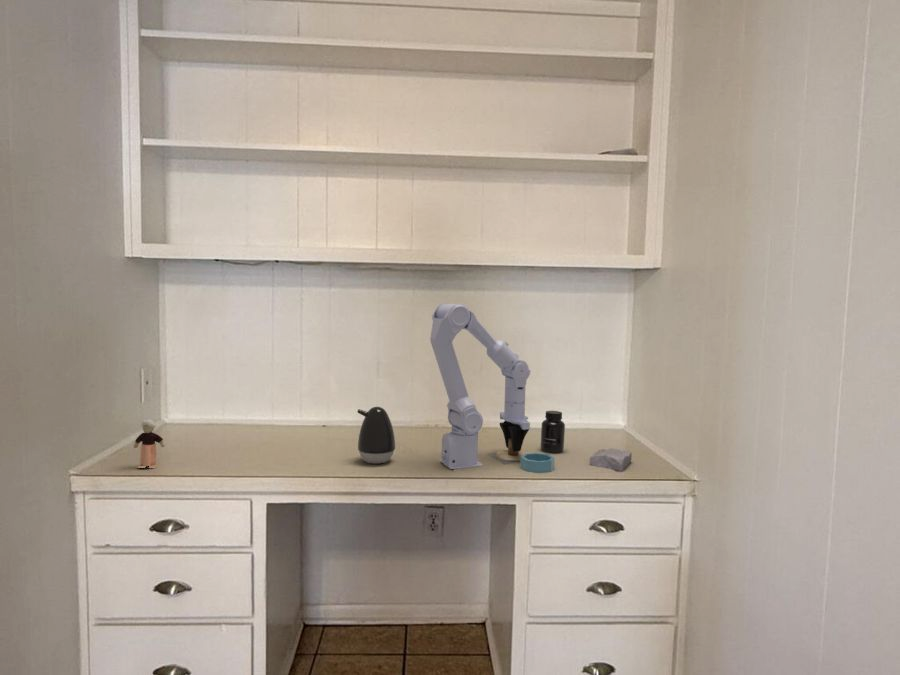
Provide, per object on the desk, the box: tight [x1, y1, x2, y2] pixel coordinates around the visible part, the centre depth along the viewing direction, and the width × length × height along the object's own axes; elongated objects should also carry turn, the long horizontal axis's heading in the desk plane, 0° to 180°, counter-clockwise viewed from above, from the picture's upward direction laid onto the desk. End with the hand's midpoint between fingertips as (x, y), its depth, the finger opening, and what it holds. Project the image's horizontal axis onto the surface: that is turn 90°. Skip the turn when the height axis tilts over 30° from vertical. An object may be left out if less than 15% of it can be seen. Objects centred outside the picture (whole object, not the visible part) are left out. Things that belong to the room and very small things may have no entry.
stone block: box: [589, 448, 632, 472], centre depth 171 cm, size 12×5×10 cm
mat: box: [487, 452, 520, 465], centre depth 175 cm, size 11×11×1 cm
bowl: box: [519, 452, 555, 474], centre depth 165 cm, size 8×8×3 cm
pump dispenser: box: [357, 406, 396, 465], centre depth 169 cm, size 10×10×15 cm
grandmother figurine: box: [132, 418, 166, 466], centre depth 159 cm, size 8×4×13 cm, turn 106°
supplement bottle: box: [540, 410, 566, 455], centre depth 182 cm, size 7×7×12 cm
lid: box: [495, 438, 528, 462], centre depth 174 cm, size 10×10×5 cm
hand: (513, 449), depth 174 cm, fingers open, 3 cm apart
